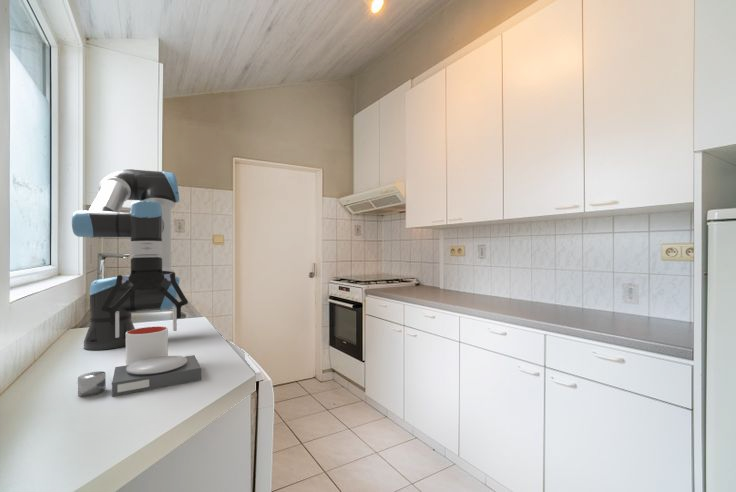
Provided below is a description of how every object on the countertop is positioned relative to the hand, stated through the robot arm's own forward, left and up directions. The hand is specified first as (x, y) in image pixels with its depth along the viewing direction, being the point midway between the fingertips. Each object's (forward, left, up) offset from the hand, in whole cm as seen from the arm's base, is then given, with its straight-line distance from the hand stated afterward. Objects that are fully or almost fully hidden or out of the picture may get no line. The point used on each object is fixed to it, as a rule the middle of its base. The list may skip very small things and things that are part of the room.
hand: (147, 333), depth 100 cm
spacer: (+15, -11, -9) cm, 20 cm away
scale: (+14, +2, -9) cm, 17 cm away
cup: (0, 0, -9) cm, 9 cm away
